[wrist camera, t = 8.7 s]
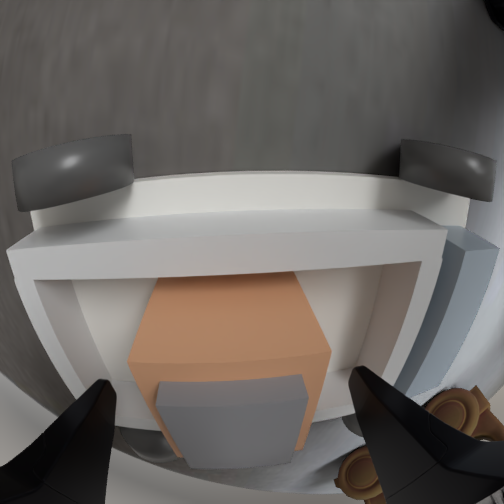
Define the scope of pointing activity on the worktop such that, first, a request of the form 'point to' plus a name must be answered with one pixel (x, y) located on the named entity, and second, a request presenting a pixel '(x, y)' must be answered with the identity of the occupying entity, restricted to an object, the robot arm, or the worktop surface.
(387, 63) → the worktop surface
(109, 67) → the worktop surface
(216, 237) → the chassis
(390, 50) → the worktop surface
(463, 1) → the worktop surface
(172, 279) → the tan box grey panel
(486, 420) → the wooden toy train
